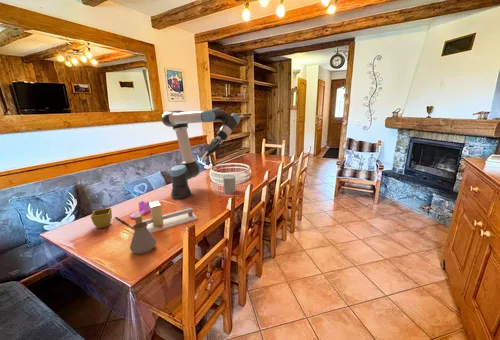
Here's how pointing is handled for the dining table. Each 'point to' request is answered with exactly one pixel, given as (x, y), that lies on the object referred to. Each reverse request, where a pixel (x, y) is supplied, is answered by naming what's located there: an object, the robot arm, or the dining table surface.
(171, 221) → the rod gauge
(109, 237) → the dining table surface
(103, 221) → the flower pot
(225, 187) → the gray cylinder
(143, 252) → the coffee pot
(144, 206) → the bracket
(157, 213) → the tan rectangular block
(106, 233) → the dining table surface
